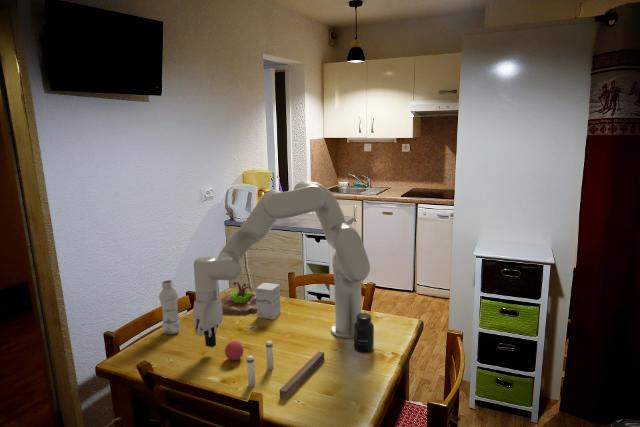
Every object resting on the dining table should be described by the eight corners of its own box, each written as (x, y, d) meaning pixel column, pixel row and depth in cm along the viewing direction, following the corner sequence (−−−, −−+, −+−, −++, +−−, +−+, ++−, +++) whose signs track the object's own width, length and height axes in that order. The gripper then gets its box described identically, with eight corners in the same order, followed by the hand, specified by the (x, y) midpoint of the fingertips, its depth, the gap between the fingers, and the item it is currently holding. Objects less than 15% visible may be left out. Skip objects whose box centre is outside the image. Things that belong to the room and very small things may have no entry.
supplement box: (256, 318, 178) (255, 288, 176) (265, 310, 185) (263, 281, 182) (273, 320, 175) (271, 289, 173) (281, 313, 182) (280, 283, 180)
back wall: (324, 359, 145) (324, 352, 144) (285, 399, 124) (285, 391, 123) (318, 358, 146) (318, 351, 145) (279, 397, 125) (279, 389, 124)
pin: (275, 367, 140) (273, 341, 139) (271, 370, 139) (270, 344, 137) (269, 366, 141) (268, 340, 140) (265, 369, 140) (264, 342, 138)
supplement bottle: (360, 355, 146) (360, 321, 144) (349, 347, 152) (349, 314, 150) (377, 350, 150) (377, 317, 147) (366, 342, 156) (366, 310, 153)
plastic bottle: (176, 337, 163) (171, 285, 159) (159, 335, 165) (154, 284, 161) (184, 329, 169) (180, 279, 166) (168, 328, 171) (163, 278, 167)
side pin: (256, 383, 132) (255, 356, 130) (252, 387, 130) (250, 359, 128) (251, 382, 133) (249, 354, 131) (246, 385, 131) (245, 357, 129)
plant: (224, 297, 202) (223, 274, 199) (267, 297, 200) (266, 274, 198) (211, 316, 182) (209, 290, 180) (258, 316, 181) (257, 290, 179)
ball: (247, 356, 148) (246, 340, 146) (236, 365, 142) (235, 348, 141) (233, 353, 150) (232, 336, 149) (221, 361, 145) (220, 344, 144)
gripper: (213, 285, 155) (216, 334, 158) (182, 300, 142) (186, 353, 145) (230, 288, 151) (233, 338, 155) (200, 304, 138) (204, 358, 142)
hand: (210, 345), depth 150 cm, fingers closed
